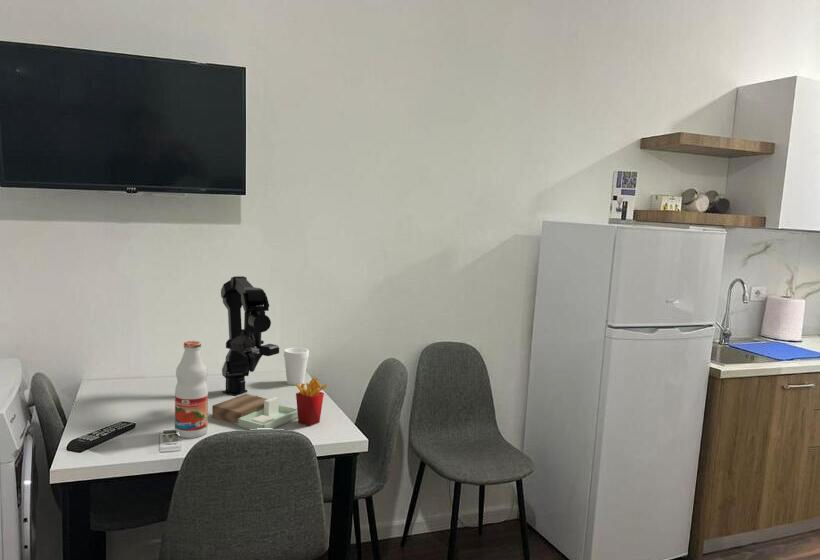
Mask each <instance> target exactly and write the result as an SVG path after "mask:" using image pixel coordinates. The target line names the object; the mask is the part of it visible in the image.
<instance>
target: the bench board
mask: <svg viewBox="0 0 820 560" xmlns="http://www.w3.org/2000/svg"><path fill="white" fill-rule="evenodd" d="M267 399H268V398H265V397H263V396H262V397H261V396H257V395H252V394H249V393H245V394H240V395H239V396H238V395H237V396H235V397H233V398H230V399H227V400H223V401H222V402H218V403H216V404H213V405H212V406H211V407H212V409H211V410H212V418H213V419H217V420H221V421H225V422H227V423H231V424H235V423H236V425H238V418H241V417H243V416H246V415H248V414H251V413H253V412H256V411H258V410H261V409H264V401H265V400H267Z"/></svg>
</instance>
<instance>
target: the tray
mask: <svg viewBox="0 0 820 560" xmlns="http://www.w3.org/2000/svg"><path fill="white" fill-rule="evenodd" d="M261 415H264V409H261V410H258V411H256V412H253V413H251V414H248V415H246V416H243V417H241V418H238V424H237V427H238V426H239V427H240V428H243V429H246V430H250V429H257V428H275V429H277V428H279V427H281V425H282V426H283V424H284V425H286V424H288V422H289V423H290V422H292V421H295V420H298V413H297V407H293V406H290V405H289V406H288V405H284V404H280V403H279V408H278V413H276V414H274V415H271V416H269V417H272V418H274V420H273V421H270V422H268V423H266V424H261V423H257V422H253V421H251V419H252V418H255V417H258V416H261ZM239 427H238V428H239ZM276 427H277V428H276Z"/></svg>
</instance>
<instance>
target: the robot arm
mask: <svg viewBox="0 0 820 560" xmlns="http://www.w3.org/2000/svg"><path fill="white" fill-rule="evenodd" d="M220 297H221V299H222V303H223V305H224V307H225V309H227V317H228V318H227V319H228V320H227V321H228V336H229V337H228V339H227V340H226V343H225V348H226V349H228V350H229V351H228V352H227V354H226V356H225V361H224V363H223V365H222V368H221V375H222V376H223V377H224V379H225V389H224V390H222V393H225V394H228V395H233V396H238V395H242V394H243V393H248V390H247V389H246V378H245V377H249V374H250V372H251V373H253V372H255V370H256V367H257V366H258V364H259V361H260V360H261V358H262V356H264V357H271V356H274V355H278V354H280V347H279V345H278V344H272V343H267V344H264V340H262V333H265V332H267V331H269V329H270V328H271V324H272V321H271V319H270V317H269V316H268V315H266V311H267V312H268V311H269V309H270V303H269V300H268V299H269V298H268V296H267V294H266V292H265V290H264V289H263V288H261V287H254V286H253V285H252V284H251V283H250V281H248V280H247V276H242V275H241V276H238V275H236V276H234V275H233V276H232V277H231V278H230V279H229V280H227V282H225V283H223V285H222V287H221V289H220ZM242 307H243V311H244V317H243V319H244V320H243V321H244V322H243V327H242Z"/></svg>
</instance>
